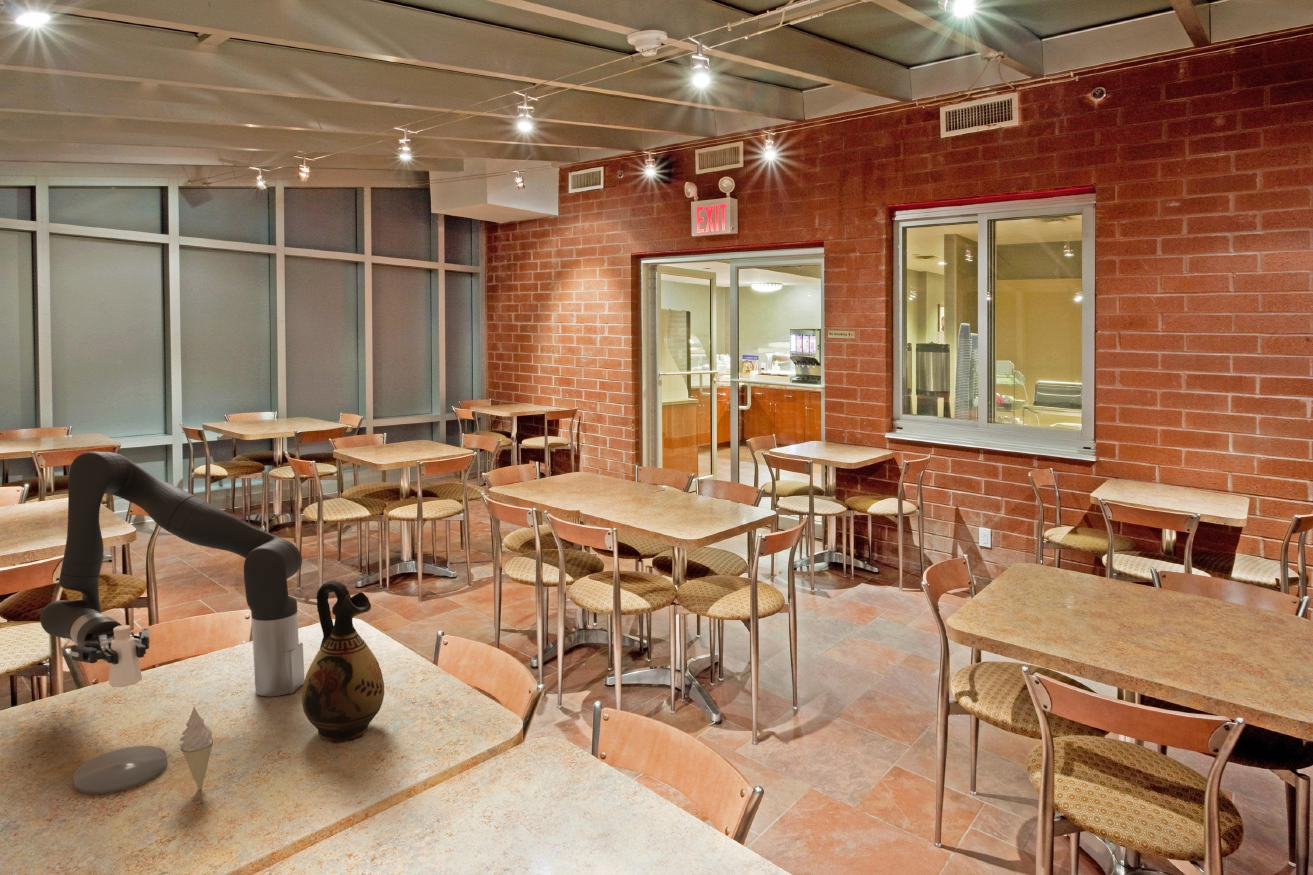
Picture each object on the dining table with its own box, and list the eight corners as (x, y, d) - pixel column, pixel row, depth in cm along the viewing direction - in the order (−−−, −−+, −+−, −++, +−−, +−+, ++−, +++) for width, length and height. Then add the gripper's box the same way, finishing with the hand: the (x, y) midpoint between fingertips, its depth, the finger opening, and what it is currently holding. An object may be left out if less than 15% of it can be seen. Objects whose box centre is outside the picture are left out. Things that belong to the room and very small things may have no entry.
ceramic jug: (402, 721, 164) (397, 579, 161) (344, 756, 150) (337, 601, 147) (341, 705, 171) (335, 569, 168) (279, 737, 157) (272, 589, 154)
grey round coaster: (183, 753, 151) (183, 745, 151) (135, 794, 137) (134, 786, 137) (109, 752, 151) (109, 745, 151) (53, 793, 137) (53, 785, 137)
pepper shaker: (149, 678, 157) (145, 624, 156) (122, 689, 152) (118, 633, 150) (128, 674, 159) (124, 620, 157) (101, 685, 154) (97, 629, 152)
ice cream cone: (191, 781, 141) (186, 700, 140) (221, 780, 142) (216, 699, 140) (177, 797, 136) (171, 713, 135) (208, 796, 137) (203, 712, 135)
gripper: (54, 625, 157) (83, 647, 147) (136, 607, 168) (168, 626, 158) (57, 662, 158) (86, 686, 148) (138, 642, 169) (171, 663, 159)
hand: (129, 655), depth 153 cm, fingers closed on pepper shaker, 3 cm apart
